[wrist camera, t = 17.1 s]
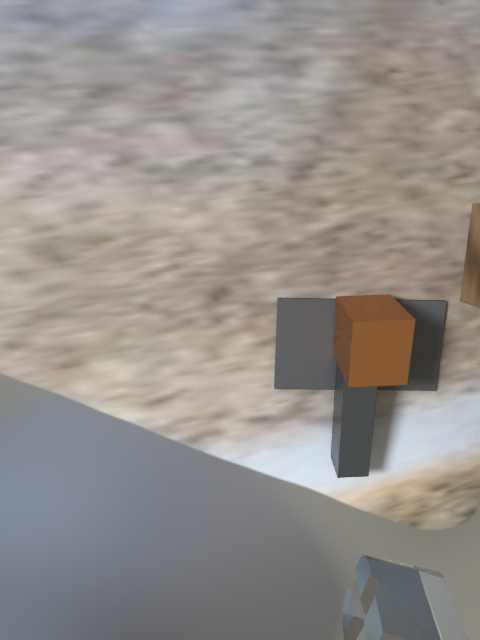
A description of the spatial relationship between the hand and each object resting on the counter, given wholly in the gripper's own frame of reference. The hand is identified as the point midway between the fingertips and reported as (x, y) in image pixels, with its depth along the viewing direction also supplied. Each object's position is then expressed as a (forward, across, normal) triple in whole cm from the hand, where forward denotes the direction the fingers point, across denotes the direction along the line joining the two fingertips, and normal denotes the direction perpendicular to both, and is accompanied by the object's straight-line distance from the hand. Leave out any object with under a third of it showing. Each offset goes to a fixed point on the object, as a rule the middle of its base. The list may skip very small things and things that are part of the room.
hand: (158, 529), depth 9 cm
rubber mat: (+35, -12, +8) cm, 37 cm away
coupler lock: (+31, -10, +11) cm, 35 cm away
